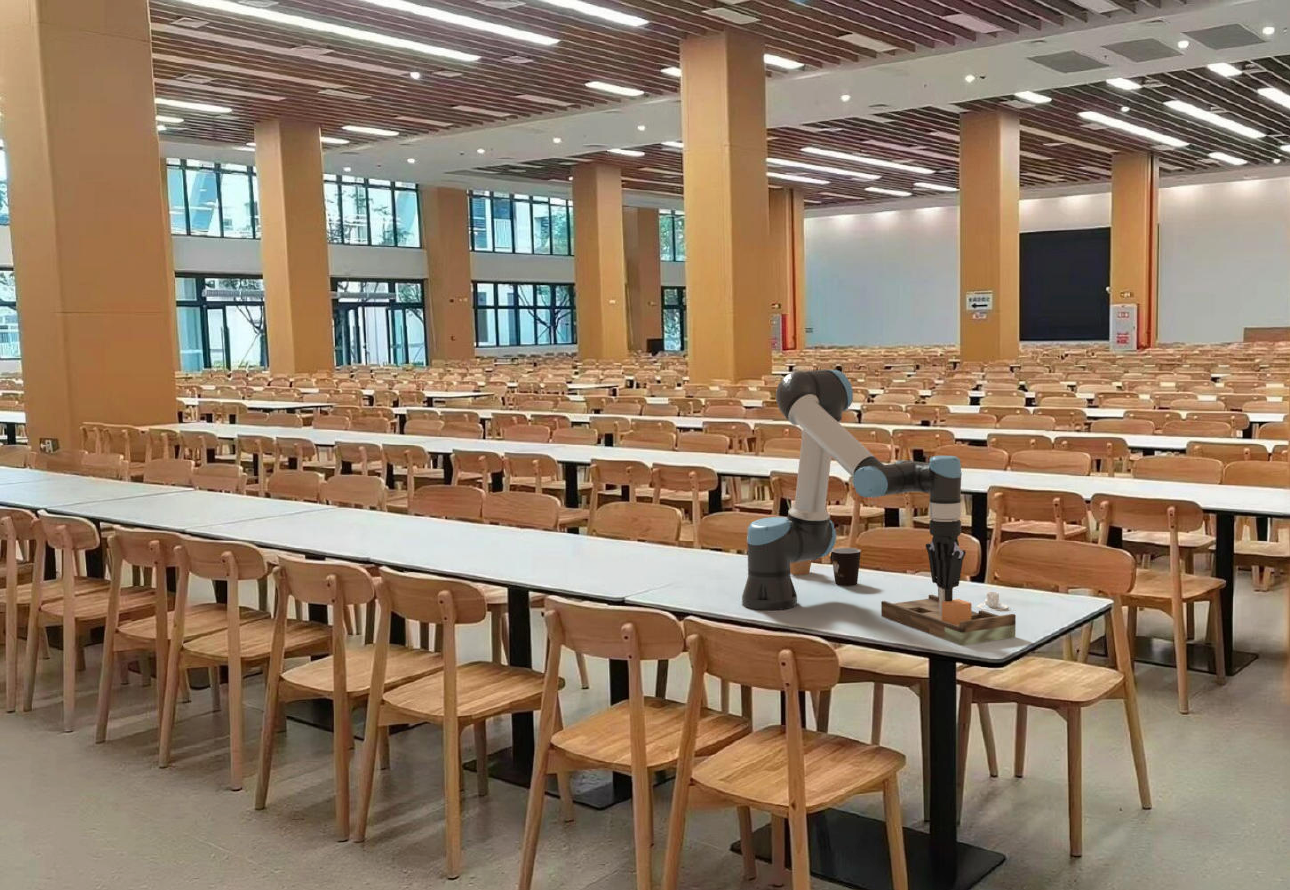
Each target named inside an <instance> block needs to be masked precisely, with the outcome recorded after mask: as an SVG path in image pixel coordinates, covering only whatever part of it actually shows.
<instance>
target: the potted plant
mask: <svg viewBox="0 0 1290 890" xmlns="http://www.w3.org/2000/svg"><path fill="white" fill-rule="evenodd" d="M786 503H787V506H788V507H787V508H788V510H789V509H791V508H792V506H791V504H790V501H789V500H788V498H786ZM786 518H787V519H788V516H787V517H786ZM812 562H813V560H807V561H801V562H794V563H790V575H796V576H800V575H801V576H802V575H803V576H804V575H808V574H810V571H811V566H812Z"/></svg>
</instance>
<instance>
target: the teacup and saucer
mask: <svg viewBox="0 0 1290 890" xmlns="http://www.w3.org/2000/svg"><path fill="white" fill-rule="evenodd" d="M976 605H977V606H976V607H977V608H979V609H981V610H984V611H985V610H987V611H1004V610H1007V609H1009V606H1008V605H1006V604H1003V603H1000V594H999V592H997V591H996V592H994V591H990V592H986V598H984V603H979V604H976ZM986 605H987V606H988V608H984V607H983V606H986ZM998 606H1001V607H1002V608H998ZM997 608H998V609H997Z"/></svg>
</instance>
